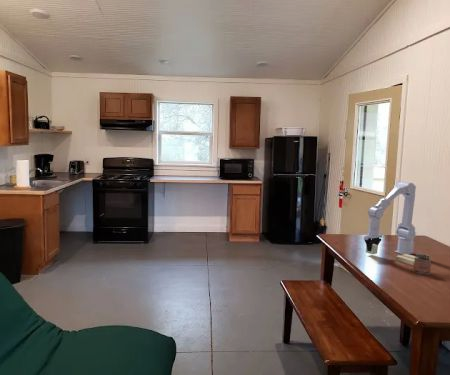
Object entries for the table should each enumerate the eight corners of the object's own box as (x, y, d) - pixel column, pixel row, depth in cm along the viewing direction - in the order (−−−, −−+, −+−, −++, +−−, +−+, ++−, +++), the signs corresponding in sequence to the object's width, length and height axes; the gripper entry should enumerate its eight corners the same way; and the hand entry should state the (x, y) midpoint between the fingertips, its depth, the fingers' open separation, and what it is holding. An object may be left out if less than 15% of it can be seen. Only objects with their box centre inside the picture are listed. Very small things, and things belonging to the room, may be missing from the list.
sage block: (370, 251, 231) (371, 243, 230) (377, 253, 227) (378, 245, 226) (365, 252, 228) (366, 244, 228) (372, 254, 225) (373, 246, 224)
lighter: (429, 272, 202) (431, 254, 201) (430, 275, 199) (432, 256, 198) (412, 270, 205) (414, 252, 203) (413, 272, 202) (415, 253, 200)
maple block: (405, 258, 227) (406, 253, 227) (422, 263, 219) (422, 258, 218) (395, 261, 221) (396, 256, 221) (412, 266, 213) (413, 261, 213)
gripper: (375, 225, 233) (373, 247, 235) (360, 227, 225) (358, 250, 227) (386, 227, 227) (383, 250, 229) (370, 230, 219) (368, 253, 221)
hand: (371, 250), depth 227 cm, fingers closed on sage block, 4 cm apart
